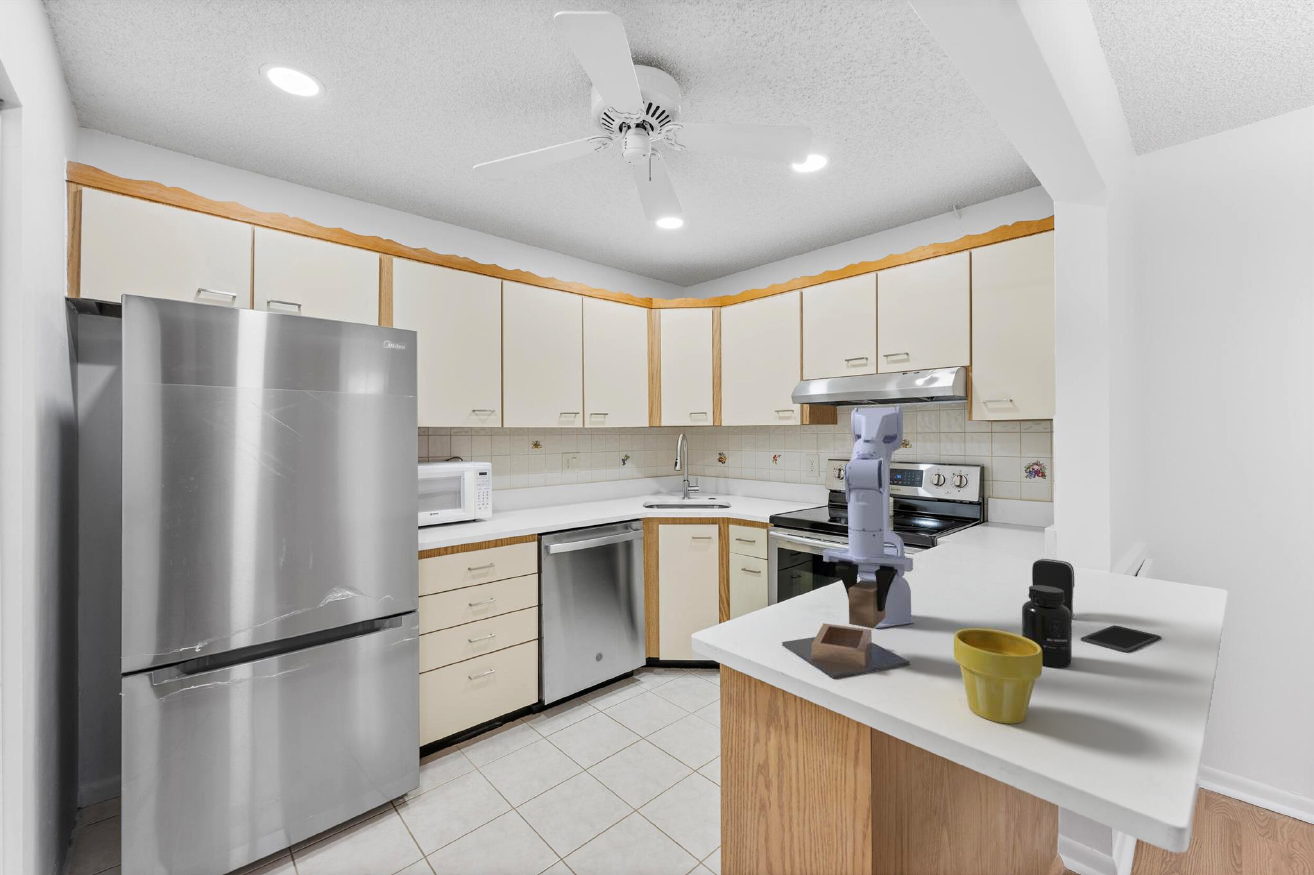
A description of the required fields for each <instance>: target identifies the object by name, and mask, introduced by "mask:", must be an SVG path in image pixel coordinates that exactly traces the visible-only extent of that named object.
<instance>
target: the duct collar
mask: <svg viewBox="0 0 1314 875" xmlns="http://www.w3.org/2000/svg"><path fill="white" fill-rule="evenodd" d="M872 637H873V636H872V629H871V628H869V629H868V628H862V627H861V628H860V627H853V626H847V625H837V624H830V623H822V626H820V629H819V631H818V632H817V634H816V636H813V637H806V638H805V637H804V638H799V639H793V640H786V641H782V642H781V646H783V647H784V648H786V649H788V650H789V651H790V652H792V654H795V655H796V656H798V657H800V658H801V659H802V660H804V661H805V662H807V663H808V664H810V665H811V666H813V667H814V666H815V668H816V669H817V668H818V669H817V670H819V671H820V670H821V672H822V673H823V672H824V674H825V675H827V676H828V675H829V676H828V677H829V678H831V679H833V680H834V679H838V678H839V677H840V678H845V677H846V678H847V677H850V676H849V675H851V676H857V675H861V674H867V672H868V673H872V672H878V671H877V670H879V671H882V670H883V669H884V670H888V668H890V669H894V667H895V668H899V666H901V667H904V666H905V667H906V666H910V665H911V664H910V663H911V662H910V660H908V659H906V658H904V657H902V656H900V655H898V654H896V653H894V652H893V651H891V650H888V649H886V648H884V647H882V646H880V645H878V644H876V643H875V642H873V641H872ZM856 674H857V675H856ZM840 678H839V679H840Z"/></svg>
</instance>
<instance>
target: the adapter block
mask: <svg viewBox="0 0 1314 875" xmlns="http://www.w3.org/2000/svg"><path fill="white" fill-rule="evenodd" d="M884 618H885V609H884V610H883V611H882V612H880V611H878V609H877V583H876V582H873V581H866V580H861V581H860V580H859V581H857V583H856V584H855V585H853V586H852V587H850V588H849V599H848V624H849V625H853V626H858V627H861V628H862V627H863V628H866V629H868V628H869V629H872V630H873V629H875V627H876V626H877V625H878V624H879V623H880V622H881V621H882V620H883V619H884Z"/></svg>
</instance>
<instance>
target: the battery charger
mask: <svg viewBox="0 0 1314 875" xmlns="http://www.w3.org/2000/svg"><path fill="white" fill-rule="evenodd" d="M1031 572H1032V574H1031V579H1032V581H1031V583H1032V585H1042V586H1050V587H1055V588H1059V589H1061V590H1063V591H1064V603H1063V605H1064V606H1065V607H1067V608H1068V609H1069V611H1070V612H1071V615H1072V619H1074V605H1073V604H1074V589H1075V569H1074V566H1073V565H1072V564H1071V563H1070V562H1069V561H1063V560H1058V559H1049V558H1039V559H1036V560H1034V562H1033V563H1032V570H1031Z"/></svg>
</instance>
